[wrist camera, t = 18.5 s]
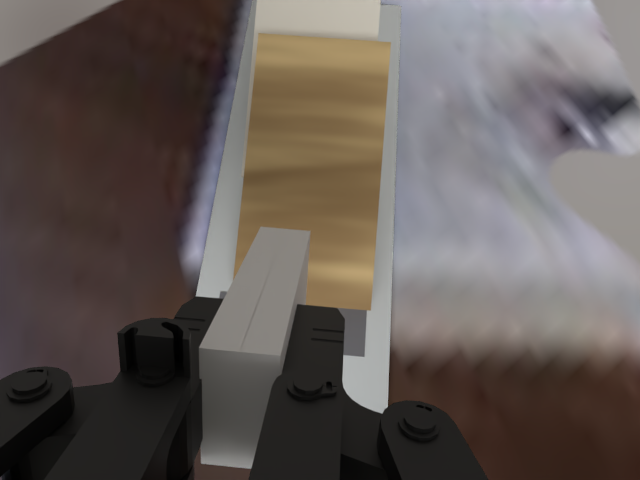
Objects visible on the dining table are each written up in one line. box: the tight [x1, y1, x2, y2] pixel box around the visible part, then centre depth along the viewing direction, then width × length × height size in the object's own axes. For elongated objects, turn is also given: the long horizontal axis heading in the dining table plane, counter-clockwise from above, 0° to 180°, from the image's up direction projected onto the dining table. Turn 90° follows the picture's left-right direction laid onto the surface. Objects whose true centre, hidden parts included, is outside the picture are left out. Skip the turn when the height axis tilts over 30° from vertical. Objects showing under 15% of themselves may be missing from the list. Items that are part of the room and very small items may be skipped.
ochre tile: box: [233, 33, 391, 311], centre depth 24 cm, size 2×6×12 cm
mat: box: [196, 0, 401, 414], centre depth 27 cm, size 25×9×1 cm, turn 175°
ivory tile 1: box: [241, 0, 381, 179], centre depth 26 cm, size 2×6×12 cm
